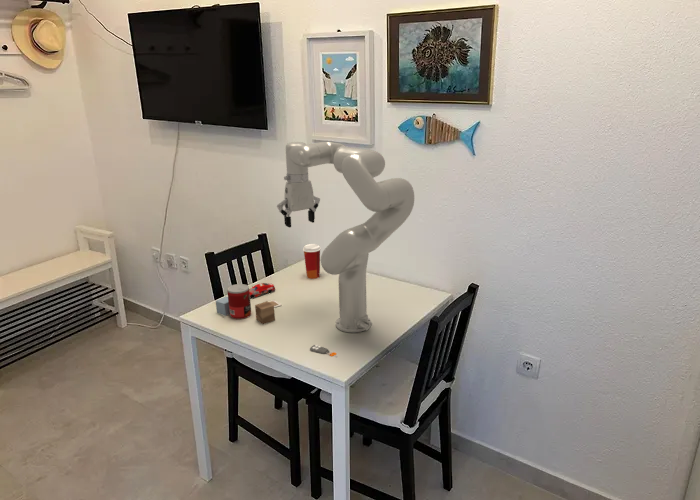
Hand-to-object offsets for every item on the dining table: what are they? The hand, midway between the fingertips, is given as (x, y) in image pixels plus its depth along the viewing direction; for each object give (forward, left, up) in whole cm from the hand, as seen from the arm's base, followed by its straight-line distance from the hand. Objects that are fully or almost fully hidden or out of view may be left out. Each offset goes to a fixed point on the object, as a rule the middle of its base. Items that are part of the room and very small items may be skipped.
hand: (300, 224), depth 196 cm
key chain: (-35, +14, -34) cm, 50 cm away
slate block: (+16, +25, -33) cm, 45 cm away
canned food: (+10, +22, -33) cm, 41 cm away
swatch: (+10, +9, -33) cm, 36 cm away
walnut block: (0, +17, -33) cm, 37 cm away
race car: (+23, +7, -33) cm, 41 cm away
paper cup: (+24, -20, -33) cm, 45 cm away
